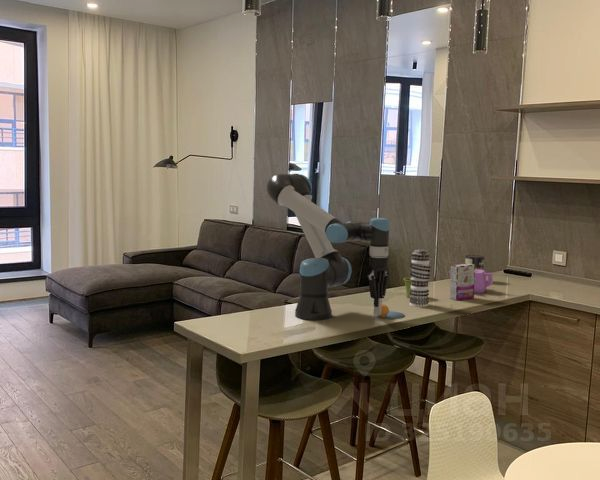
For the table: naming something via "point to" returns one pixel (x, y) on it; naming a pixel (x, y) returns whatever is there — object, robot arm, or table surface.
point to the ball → (384, 311)
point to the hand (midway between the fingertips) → (377, 314)
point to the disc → (392, 315)
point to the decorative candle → (419, 278)
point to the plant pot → (408, 286)
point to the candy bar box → (462, 281)
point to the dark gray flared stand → (475, 261)
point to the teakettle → (481, 281)
